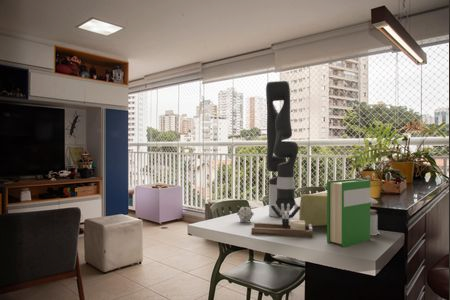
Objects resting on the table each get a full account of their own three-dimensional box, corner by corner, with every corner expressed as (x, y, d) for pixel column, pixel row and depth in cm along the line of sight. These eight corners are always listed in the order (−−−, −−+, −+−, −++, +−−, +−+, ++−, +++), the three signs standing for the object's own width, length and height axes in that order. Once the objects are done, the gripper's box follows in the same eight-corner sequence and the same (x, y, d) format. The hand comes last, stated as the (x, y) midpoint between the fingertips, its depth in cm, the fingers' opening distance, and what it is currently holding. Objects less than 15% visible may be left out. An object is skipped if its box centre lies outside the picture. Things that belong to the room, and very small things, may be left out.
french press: (366, 236, 133) (366, 176, 133) (348, 229, 144) (348, 174, 144) (385, 234, 135) (385, 176, 135) (366, 227, 146) (366, 174, 146)
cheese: (306, 229, 144) (306, 196, 144) (294, 224, 153) (294, 193, 153) (345, 225, 152) (345, 194, 152) (331, 220, 161) (331, 191, 161)
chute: (254, 228, 145) (254, 220, 145) (311, 231, 140) (311, 223, 140) (251, 234, 135) (251, 225, 135) (312, 237, 130) (312, 229, 130)
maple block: (290, 229, 140) (290, 220, 140) (304, 229, 138) (304, 220, 138) (290, 232, 134) (290, 223, 134) (305, 233, 132) (305, 223, 132)
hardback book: (343, 247, 117) (343, 182, 117) (326, 242, 123) (327, 181, 123) (370, 239, 127) (370, 180, 127) (353, 235, 133) (353, 178, 133)
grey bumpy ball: (247, 228, 159) (258, 211, 162) (247, 226, 152) (258, 208, 154) (232, 218, 162) (243, 202, 164) (231, 216, 154) (242, 199, 156)
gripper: (301, 186, 139) (300, 226, 139) (271, 185, 142) (270, 224, 142) (301, 188, 132) (301, 230, 132) (269, 187, 135) (269, 228, 135)
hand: (285, 227), depth 137 cm, fingers closed
